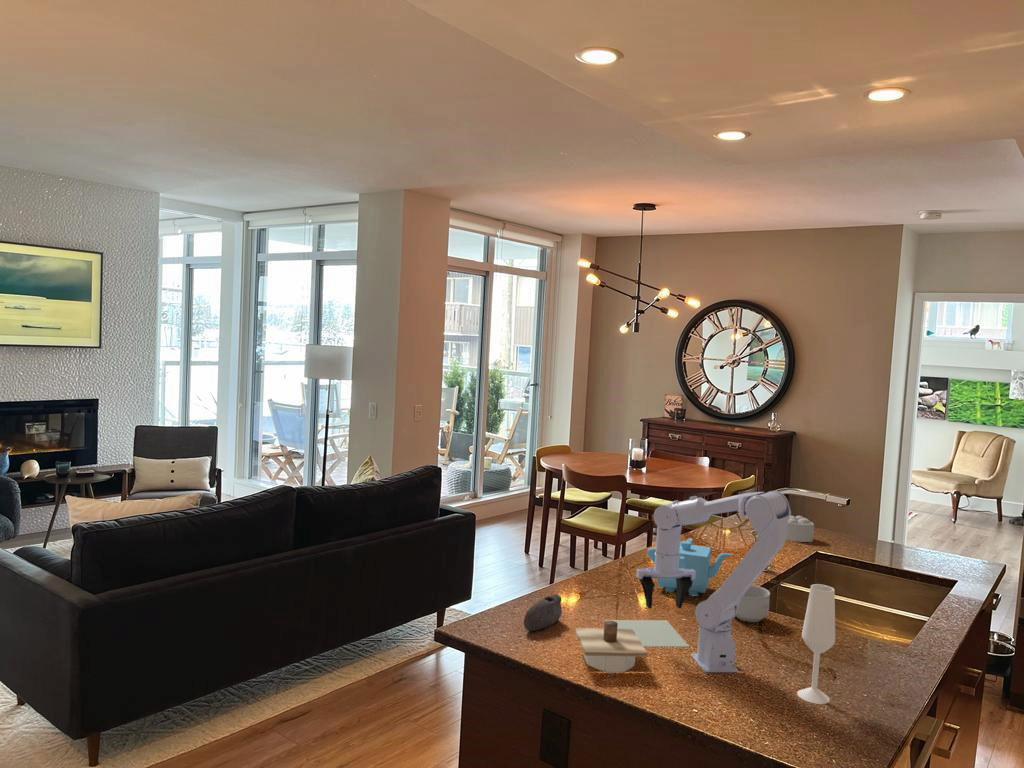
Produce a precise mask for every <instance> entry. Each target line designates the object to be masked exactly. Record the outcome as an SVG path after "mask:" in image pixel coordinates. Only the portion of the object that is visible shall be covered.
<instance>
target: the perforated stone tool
mask: <svg viewBox="0 0 1024 768" xmlns="http://www.w3.org/2000/svg"><path fill="white" fill-rule="evenodd" d="M562 609H563V608H562V596H560V595H559V594H557V593H555V594H552V595H548V596H545V597H544V598H542V599H539V600H538V601H537V602H535V603H534V604H533V605H532V606H531V607H529V609H528V610H526V613H525V615H524V619H523V626H524V628H525V630H527V631H529V632H535V631H540V630H542V629H545V628H547V627H550V626H552V625H553V624H555V623H556V622H558V621H559V620H560V618H561V615H562V612H563V610H562Z"/></svg>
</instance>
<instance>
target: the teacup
mask: <svg viewBox="0 0 1024 768" xmlns="http://www.w3.org/2000/svg"><path fill="white" fill-rule="evenodd" d="M770 597H771V592H770V591H769V590H768V589H766V588H765V587H762V586H759V585H754V584H752V585H751V586H750V587H749V589H748V590H747V591H746V592H745V594H744V595H743V596H742V597H741V603H740V604H739V606H738V609H737V614H736V616H735V618H736V617H737V618H736V619H738V620H739V619H741V620H740V621H742V620H743V621H742V622H745V621H748V622H747V623H758V622H760V621H762V620H763V619H765V618H766V617H767V616H768V614H769V612H770V611H769V610H770V601H771V600H770Z"/></svg>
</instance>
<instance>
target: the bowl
mask: <svg viewBox="0 0 1024 768" xmlns="http://www.w3.org/2000/svg"><path fill="white" fill-rule="evenodd" d="M583 658H584V660H585V663H586V664H587V666H588V667H591V668H592V669H596V670H599V671H602V672H601V673H604V672H608V673H607V674H614V673H616V674H620V673H619V672H624V673H626V672H625V671H629V670H631V669H632V668H633V667H634V666H636V656H585V654H584V653H583Z"/></svg>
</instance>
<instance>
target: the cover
mask: <svg viewBox="0 0 1024 768" xmlns="http://www.w3.org/2000/svg"><path fill="white" fill-rule="evenodd" d="M617 626H618V623H617V622H615V621H605V620H604V624H603V627H574V632H575V635H576V637H577V640H578V642H579V645H580V647H581V648H582V651H583V655H584V654H585V656H635V657H638V658H640V657H642V658H643V657H644V658H645V657H646V658H647V657H648V652H647V650H646V648H645V647H643V645H642V643H641V642H640V640H639V639H638V637H637V635H636V634H635V632H634V631H633V629H617Z"/></svg>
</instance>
